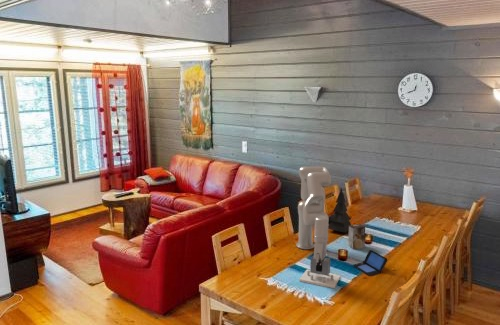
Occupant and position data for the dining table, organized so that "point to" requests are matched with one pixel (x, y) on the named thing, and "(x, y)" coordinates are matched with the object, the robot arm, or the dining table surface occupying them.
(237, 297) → the dining table surface
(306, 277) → the pin tray
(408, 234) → the dining table surface
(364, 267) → the handheld game console
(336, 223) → the decorative tree
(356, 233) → the coffee box
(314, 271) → the block
